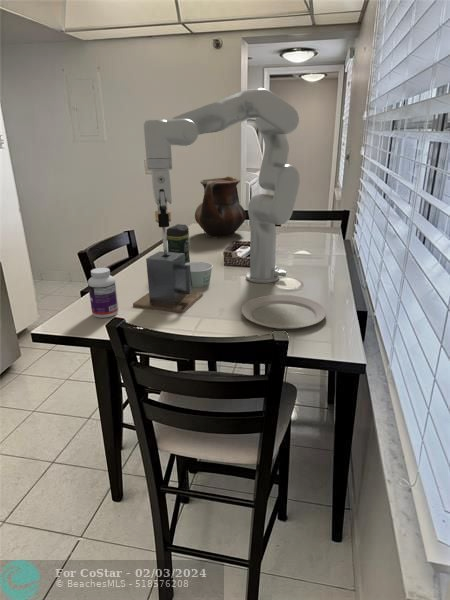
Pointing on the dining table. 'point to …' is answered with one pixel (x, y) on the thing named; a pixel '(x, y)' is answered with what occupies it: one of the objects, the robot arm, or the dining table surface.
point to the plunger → (163, 232)
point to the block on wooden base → (168, 284)
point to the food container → (200, 273)
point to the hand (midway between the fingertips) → (163, 224)
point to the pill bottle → (102, 293)
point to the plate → (288, 299)
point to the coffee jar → (179, 240)
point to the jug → (220, 208)
